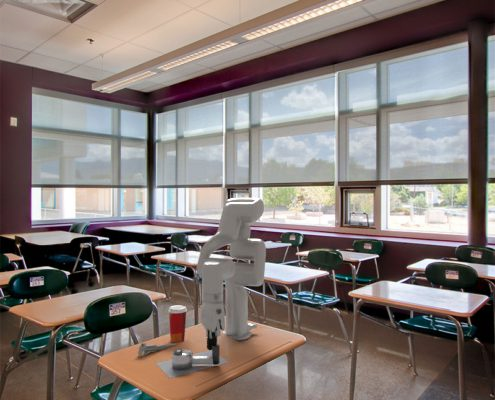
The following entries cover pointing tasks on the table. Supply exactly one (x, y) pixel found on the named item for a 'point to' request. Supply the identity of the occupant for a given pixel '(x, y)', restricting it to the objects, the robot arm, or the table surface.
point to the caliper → (152, 348)
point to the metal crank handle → (194, 358)
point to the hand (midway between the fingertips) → (211, 348)
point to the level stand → (171, 372)
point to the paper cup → (177, 323)
